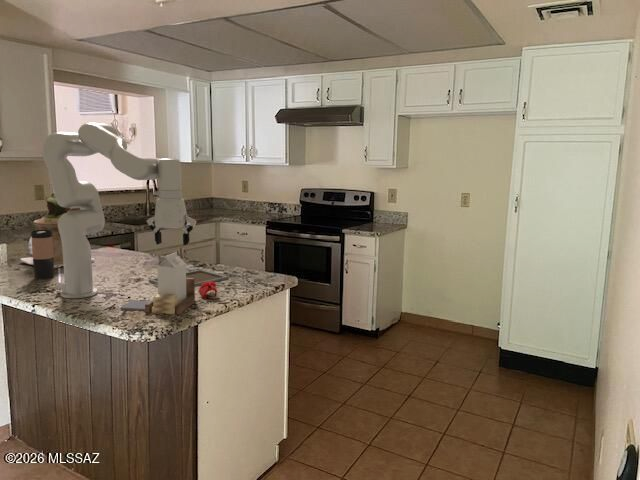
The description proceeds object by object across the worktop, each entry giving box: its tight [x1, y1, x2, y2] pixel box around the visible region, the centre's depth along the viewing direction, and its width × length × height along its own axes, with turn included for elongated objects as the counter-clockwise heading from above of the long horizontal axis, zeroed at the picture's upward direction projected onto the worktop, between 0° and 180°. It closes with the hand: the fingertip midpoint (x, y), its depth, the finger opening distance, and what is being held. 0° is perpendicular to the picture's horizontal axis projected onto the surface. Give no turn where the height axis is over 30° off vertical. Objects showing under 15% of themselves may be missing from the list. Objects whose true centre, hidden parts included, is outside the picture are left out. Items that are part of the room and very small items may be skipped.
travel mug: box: [30, 229, 55, 280], centre depth 205 cm, size 8×8×20 cm
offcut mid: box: [153, 300, 179, 309], centre depth 166 cm, size 8×4×2 cm, turn 84°
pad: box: [120, 299, 151, 311], centre depth 172 cm, size 9×9×1 cm
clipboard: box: [148, 269, 229, 289], centre depth 208 cm, size 19×2×30 cm
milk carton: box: [156, 251, 187, 304], centre depth 171 cm, size 7×7×19 cm
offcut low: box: [151, 307, 176, 315], centre depth 166 cm, size 8×4×2 cm, turn 85°
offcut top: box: [153, 293, 177, 303], centre depth 166 cm, size 6×4×2 cm, turn 87°
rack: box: [145, 278, 196, 316], centre depth 171 cm, size 12×15×9 cm
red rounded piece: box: [198, 282, 218, 299], centre depth 186 cm, size 8×6×6 cm
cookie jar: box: [19, 196, 96, 269], centre depth 232 cm, size 25×25×32 cm
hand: (172, 244), depth 169 cm, fingers open, 9 cm apart
